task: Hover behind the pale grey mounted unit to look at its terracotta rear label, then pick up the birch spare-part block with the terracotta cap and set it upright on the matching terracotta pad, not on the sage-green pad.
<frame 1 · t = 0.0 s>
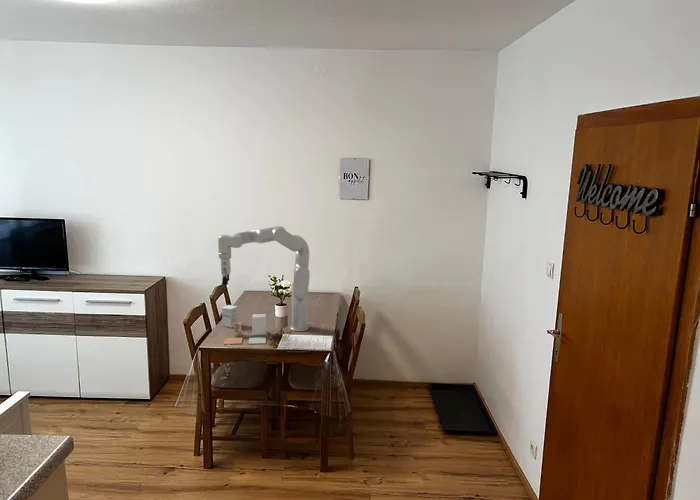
hand: (225, 282, 309), 31 cm above the table, fingers open, 9 cm apart
sage pad: (257, 341, 298), on the table
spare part: (237, 335, 307), on the table
supplement box: (230, 325, 324), on the table
terracotta pad: (233, 341, 297), on the table
mounted unit: (259, 334, 309), on the table
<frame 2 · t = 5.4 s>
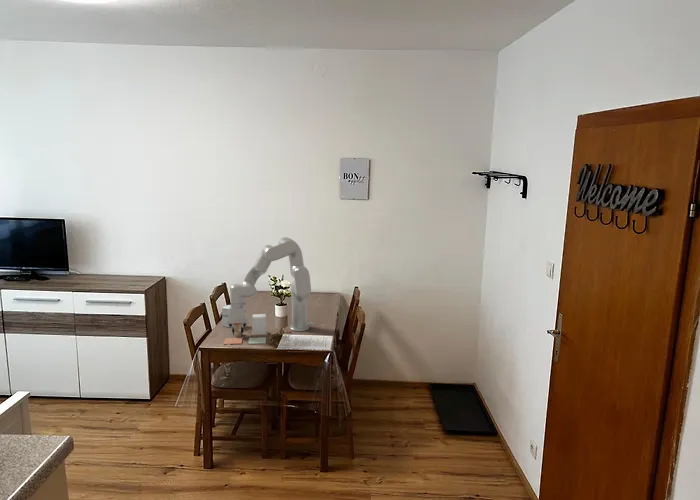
hand: (237, 333, 307), 1 cm above the table, fingers closed on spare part, 4 cm apart
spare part: (237, 335, 307), on the table, touching gripper
everything else where it was.
when the fingers open (3 cm above the table, at t = 11.0 s): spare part drops 1 cm, resting on terracotta pad.
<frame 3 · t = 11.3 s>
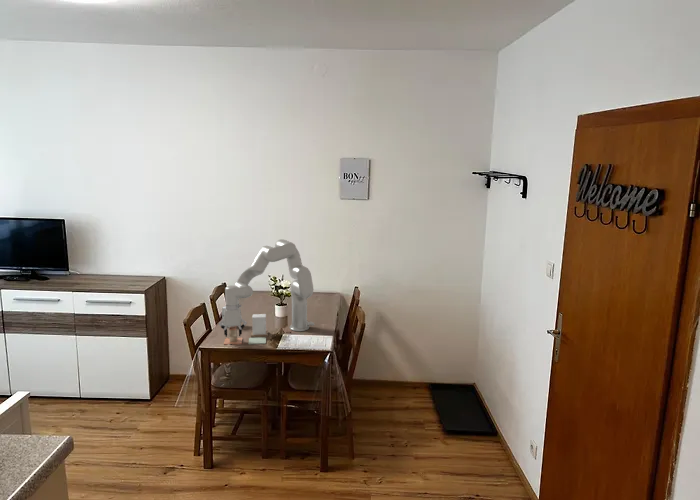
hand: (233, 335, 296), 4 cm above the table, fingers open, 7 cm apart
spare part: (233, 340, 297), point 1 cm above the table, touching terracotta pad
everything else where it was.
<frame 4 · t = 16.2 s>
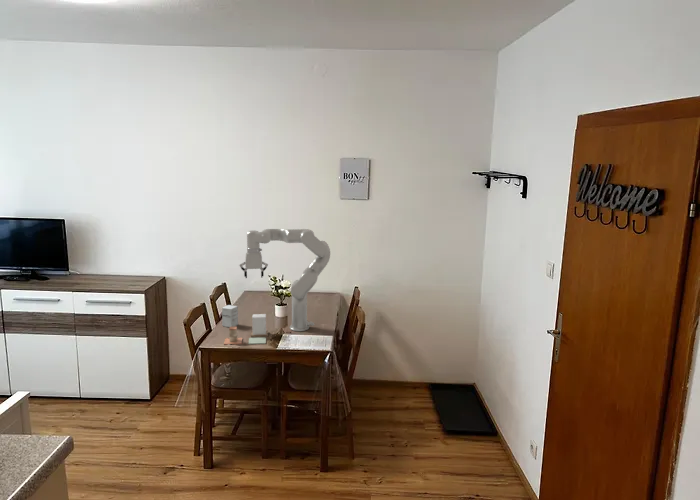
hand: (254, 277, 314), 33 cm above the table, fingers open, 9 cm apart
nothing on the table moved.
at the end: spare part 0.1 cm off-centre on the terracotta pad, point 0.6 cm above the terracotta pad's base; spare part tilted 0°; the gripper is holding nothing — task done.
